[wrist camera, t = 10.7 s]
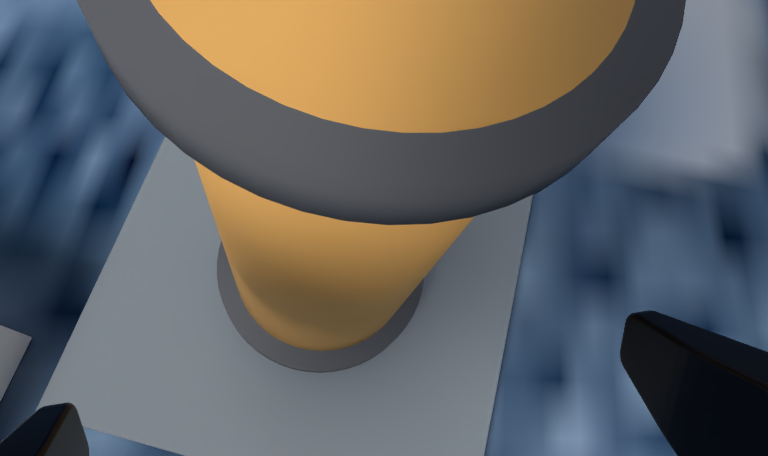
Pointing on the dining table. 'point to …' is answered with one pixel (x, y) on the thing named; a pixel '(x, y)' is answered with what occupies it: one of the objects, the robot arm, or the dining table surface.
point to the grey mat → (264, 377)
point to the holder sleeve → (10, 354)
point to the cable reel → (371, 136)
